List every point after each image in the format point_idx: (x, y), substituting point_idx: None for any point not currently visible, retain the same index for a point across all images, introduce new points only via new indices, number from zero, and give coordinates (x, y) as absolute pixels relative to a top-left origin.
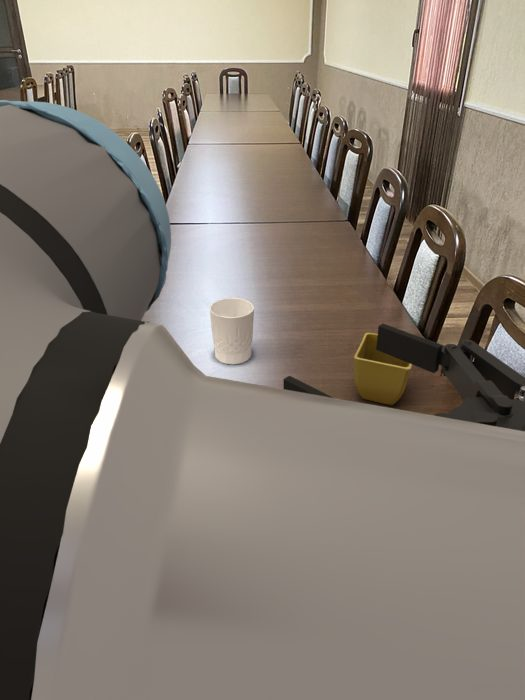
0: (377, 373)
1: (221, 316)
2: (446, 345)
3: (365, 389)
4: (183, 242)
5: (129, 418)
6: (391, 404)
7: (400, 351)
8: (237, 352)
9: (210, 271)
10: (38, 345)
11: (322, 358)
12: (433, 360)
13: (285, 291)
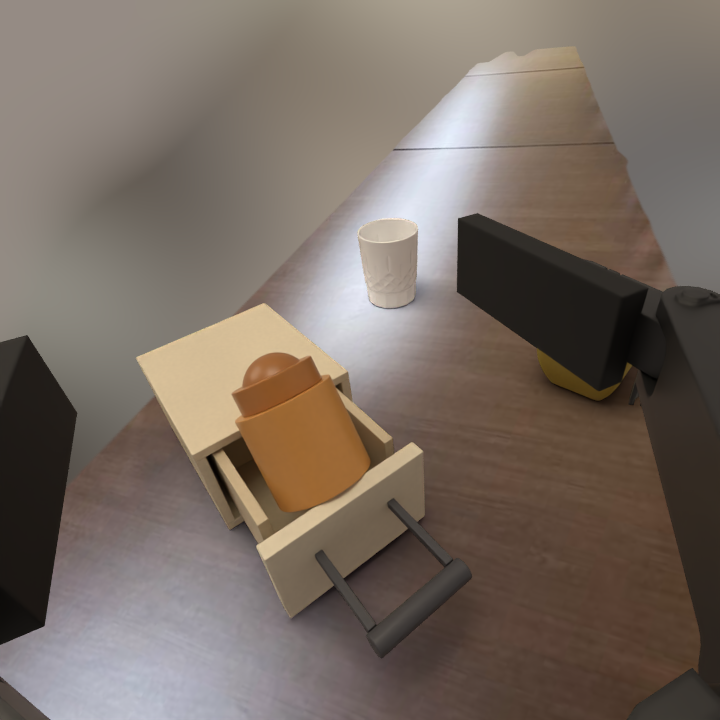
0: None
1: (366, 240)
2: (669, 291)
3: (553, 369)
4: (403, 167)
5: None
6: (596, 399)
7: (506, 301)
8: (390, 292)
9: (416, 197)
10: None
11: None
12: (600, 345)
13: None
